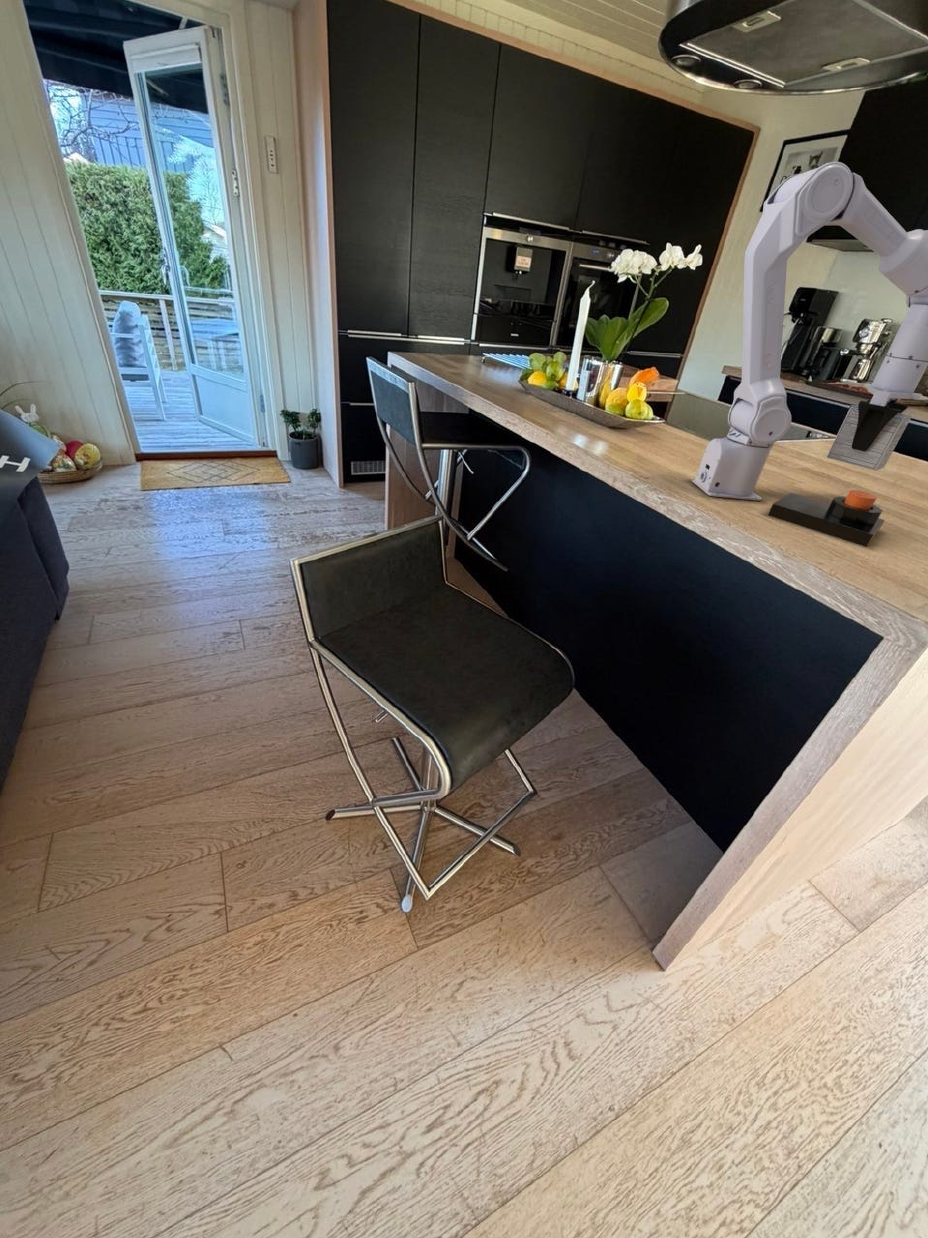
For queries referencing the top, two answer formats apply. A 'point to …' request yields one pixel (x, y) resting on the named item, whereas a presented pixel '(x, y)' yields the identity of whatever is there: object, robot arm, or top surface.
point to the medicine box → (879, 448)
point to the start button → (860, 499)
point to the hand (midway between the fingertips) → (861, 447)
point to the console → (830, 517)
